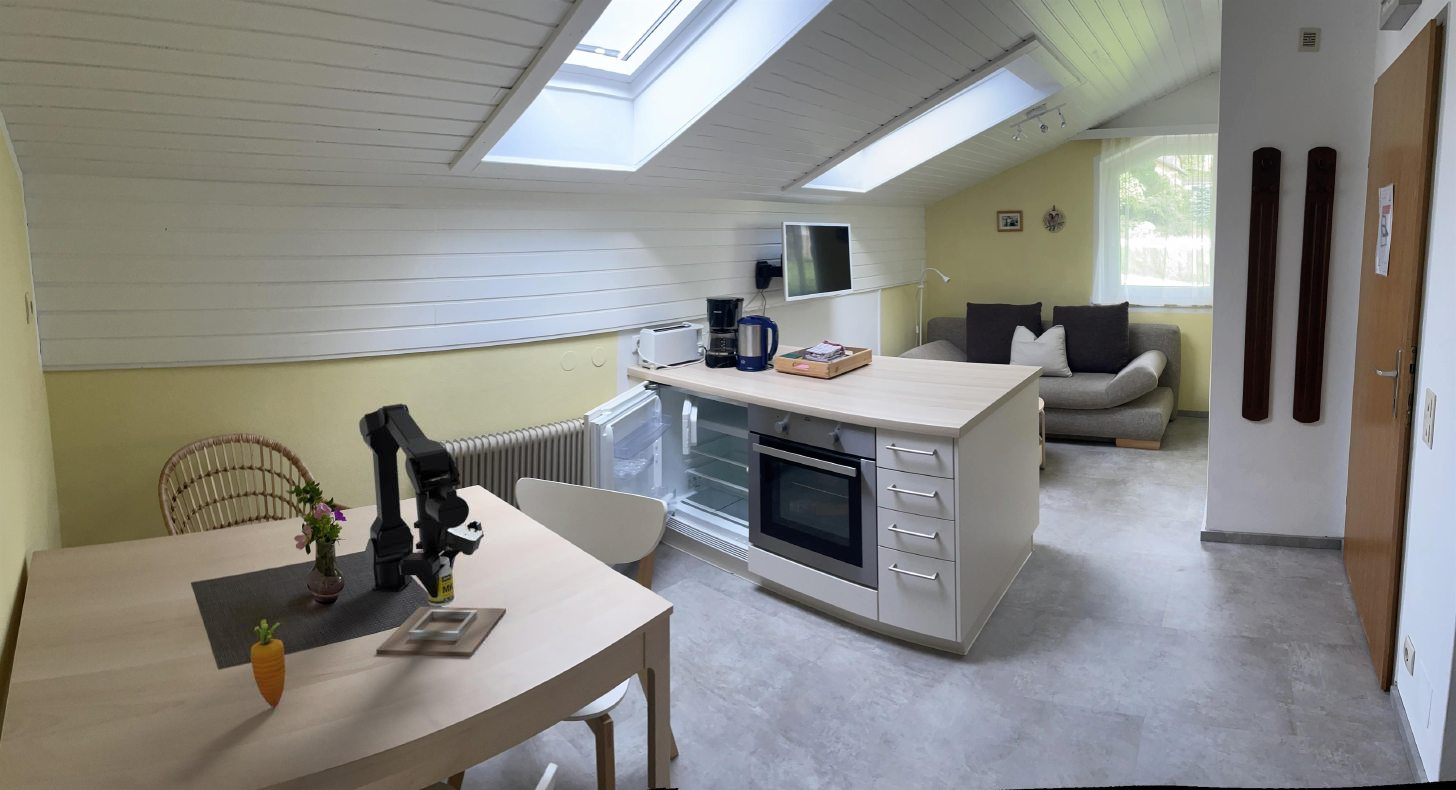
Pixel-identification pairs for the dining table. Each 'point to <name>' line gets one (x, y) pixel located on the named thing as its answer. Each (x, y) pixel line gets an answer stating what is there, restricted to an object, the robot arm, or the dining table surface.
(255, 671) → the carrot
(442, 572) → the supplement bottle
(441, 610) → the board
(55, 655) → the dining table surface
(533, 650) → the dining table surface
